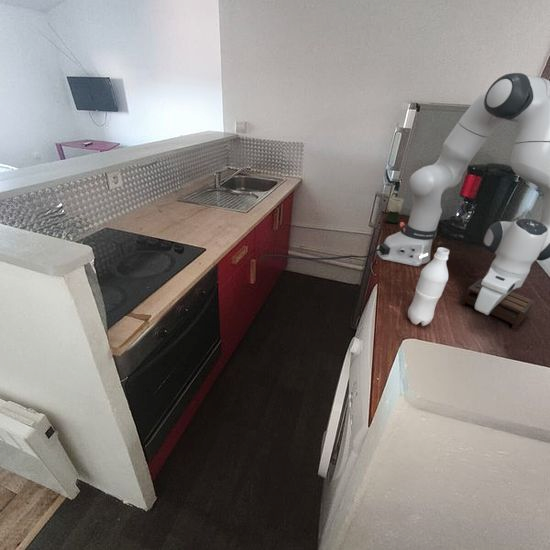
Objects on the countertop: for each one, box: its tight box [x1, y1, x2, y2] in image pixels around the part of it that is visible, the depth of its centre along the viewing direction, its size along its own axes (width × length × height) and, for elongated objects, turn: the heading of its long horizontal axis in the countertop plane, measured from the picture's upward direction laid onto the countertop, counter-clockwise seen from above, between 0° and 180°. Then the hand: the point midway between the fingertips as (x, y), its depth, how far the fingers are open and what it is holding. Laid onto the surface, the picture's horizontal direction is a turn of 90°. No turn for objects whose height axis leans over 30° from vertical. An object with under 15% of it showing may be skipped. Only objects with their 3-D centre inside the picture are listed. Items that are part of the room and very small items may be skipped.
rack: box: [460, 278, 536, 330], centre depth 96 cm, size 10×16×7 cm, turn 38°
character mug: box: [385, 196, 405, 224], centre depth 161 cm, size 11×7×13 cm, turn 2°
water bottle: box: [407, 246, 450, 327], centre depth 86 cm, size 7×7×25 cm
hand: (486, 312), depth 93 cm, fingers closed
